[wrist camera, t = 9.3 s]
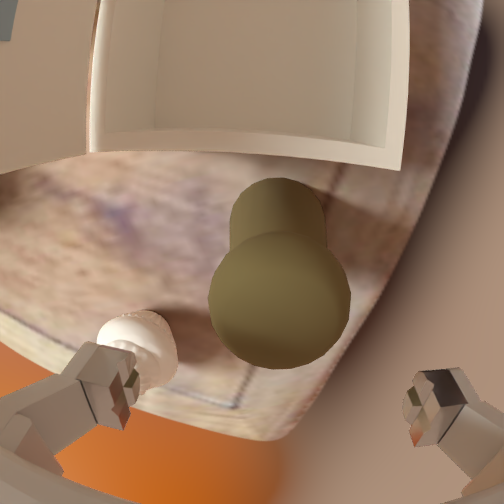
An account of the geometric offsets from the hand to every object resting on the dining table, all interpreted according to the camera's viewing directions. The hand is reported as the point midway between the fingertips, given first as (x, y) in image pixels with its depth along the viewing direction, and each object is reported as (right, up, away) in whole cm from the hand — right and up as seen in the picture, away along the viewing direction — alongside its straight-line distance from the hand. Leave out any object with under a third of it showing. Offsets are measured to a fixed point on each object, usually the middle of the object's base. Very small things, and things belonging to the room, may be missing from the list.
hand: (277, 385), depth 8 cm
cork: (+1, +5, +12) cm, 13 cm away
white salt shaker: (-9, -2, +16) cm, 18 cm away
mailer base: (0, +17, +7) cm, 19 cm away
